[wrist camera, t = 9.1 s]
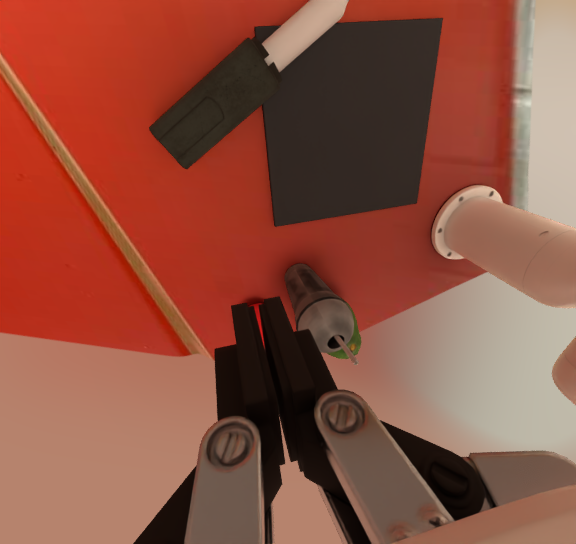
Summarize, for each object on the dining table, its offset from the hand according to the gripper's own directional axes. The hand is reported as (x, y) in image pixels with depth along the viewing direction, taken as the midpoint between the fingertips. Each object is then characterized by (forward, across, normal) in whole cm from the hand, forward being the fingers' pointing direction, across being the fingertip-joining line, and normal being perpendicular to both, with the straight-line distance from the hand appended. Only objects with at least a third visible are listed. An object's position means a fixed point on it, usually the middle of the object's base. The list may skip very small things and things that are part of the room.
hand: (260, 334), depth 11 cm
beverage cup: (+32, -9, +18) cm, 38 cm away
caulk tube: (+29, +5, -3) cm, 30 cm away
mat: (+32, -17, -2) cm, 36 cm away
